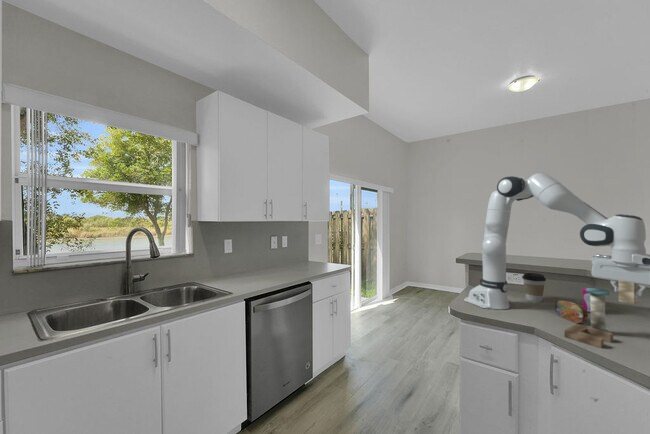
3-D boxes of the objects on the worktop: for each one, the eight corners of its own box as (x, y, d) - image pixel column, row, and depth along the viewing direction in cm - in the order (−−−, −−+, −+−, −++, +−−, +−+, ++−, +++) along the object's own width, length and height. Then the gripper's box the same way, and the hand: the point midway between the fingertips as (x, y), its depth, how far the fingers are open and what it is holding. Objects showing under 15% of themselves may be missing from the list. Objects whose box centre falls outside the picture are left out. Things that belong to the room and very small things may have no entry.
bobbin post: (583, 331, 118) (583, 289, 118) (590, 327, 122) (590, 287, 122) (605, 337, 112) (605, 293, 112) (612, 333, 116) (612, 290, 115)
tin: (554, 314, 139) (554, 297, 139) (560, 314, 139) (560, 297, 139) (582, 326, 124) (582, 307, 124) (589, 326, 124) (589, 307, 124)
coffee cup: (523, 296, 169) (523, 271, 169) (547, 299, 162) (547, 274, 161) (520, 300, 161) (520, 274, 161) (545, 304, 153) (544, 277, 153)
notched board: (564, 336, 113) (564, 329, 113) (577, 330, 119) (577, 323, 119) (600, 348, 104) (600, 340, 104) (613, 340, 109) (613, 333, 109)
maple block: (618, 301, 105) (618, 280, 105) (622, 299, 107) (622, 279, 107) (633, 304, 102) (633, 282, 102) (637, 302, 104) (637, 281, 104)
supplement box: (598, 311, 142) (597, 289, 142) (598, 314, 138) (598, 291, 138) (582, 308, 146) (582, 287, 146) (582, 311, 142) (582, 289, 141)
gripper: (588, 254, 112) (588, 288, 112) (667, 262, 94) (667, 302, 94) (594, 253, 115) (594, 286, 115) (672, 260, 97) (672, 299, 97)
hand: (628, 293), depth 105 cm, fingers closed on maple block, 4 cm apart
